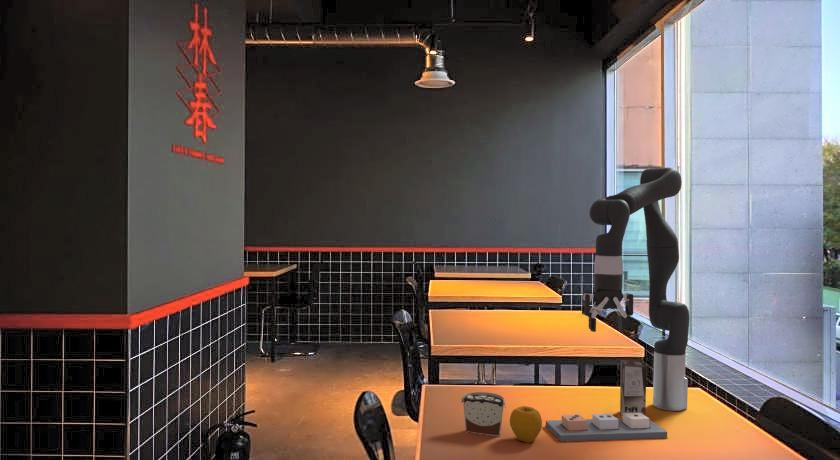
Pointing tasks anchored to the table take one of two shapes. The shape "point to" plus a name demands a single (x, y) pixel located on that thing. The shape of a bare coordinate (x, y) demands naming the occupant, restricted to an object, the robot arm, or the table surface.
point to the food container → (483, 412)
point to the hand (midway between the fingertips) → (607, 331)
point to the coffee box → (633, 387)
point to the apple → (526, 423)
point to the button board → (605, 432)
